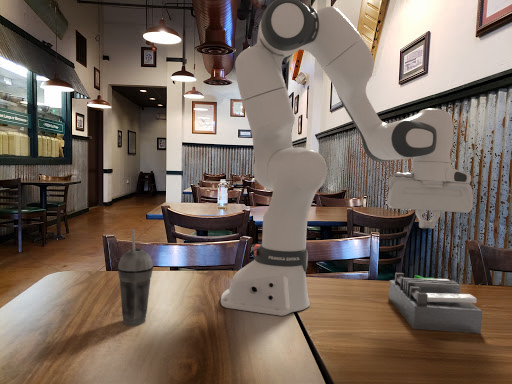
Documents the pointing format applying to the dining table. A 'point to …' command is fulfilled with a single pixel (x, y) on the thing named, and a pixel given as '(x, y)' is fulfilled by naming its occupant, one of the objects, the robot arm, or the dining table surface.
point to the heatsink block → (433, 306)
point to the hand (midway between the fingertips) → (426, 228)
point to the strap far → (431, 279)
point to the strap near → (448, 297)
